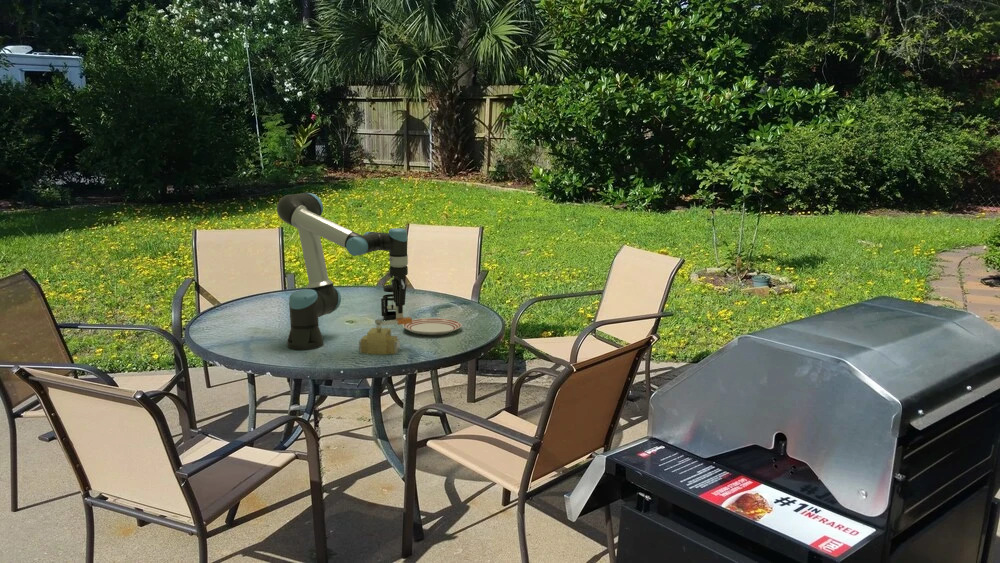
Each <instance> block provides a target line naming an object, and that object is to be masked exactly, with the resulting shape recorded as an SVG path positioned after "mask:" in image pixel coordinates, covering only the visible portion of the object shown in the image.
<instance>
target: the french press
mask: <svg viewBox="0 0 1000 563" xmlns="http://www.w3.org/2000/svg"><path fill="white" fill-rule="evenodd" d="M386 275H387V276H388V277H389V276H390V280H393V279H394V276H392V275H390V273H387V274H386ZM390 282H391V284H385V285H383V286H382V288H383V292H384V293H387V294H384V295H383V296H382V297H381V298H380V303H381V312H380V313H381V317H383V319H382V321H383V320H385V321H388V320H396V305H395V304H394V303H393V302H394V298H393V287H392V281H390ZM388 293H389V294H388ZM389 301H391V305H389Z"/></svg>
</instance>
